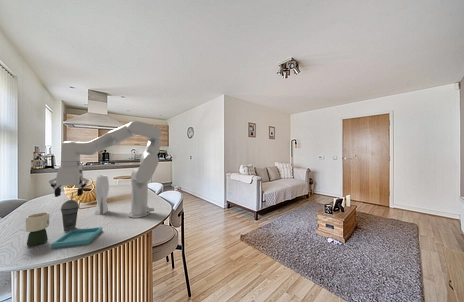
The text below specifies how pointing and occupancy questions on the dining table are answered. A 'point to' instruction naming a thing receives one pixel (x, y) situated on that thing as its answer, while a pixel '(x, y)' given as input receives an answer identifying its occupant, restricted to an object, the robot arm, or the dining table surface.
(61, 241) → the tray
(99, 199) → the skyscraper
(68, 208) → the beverage cup
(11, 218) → the dining table surface
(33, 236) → the character mug
